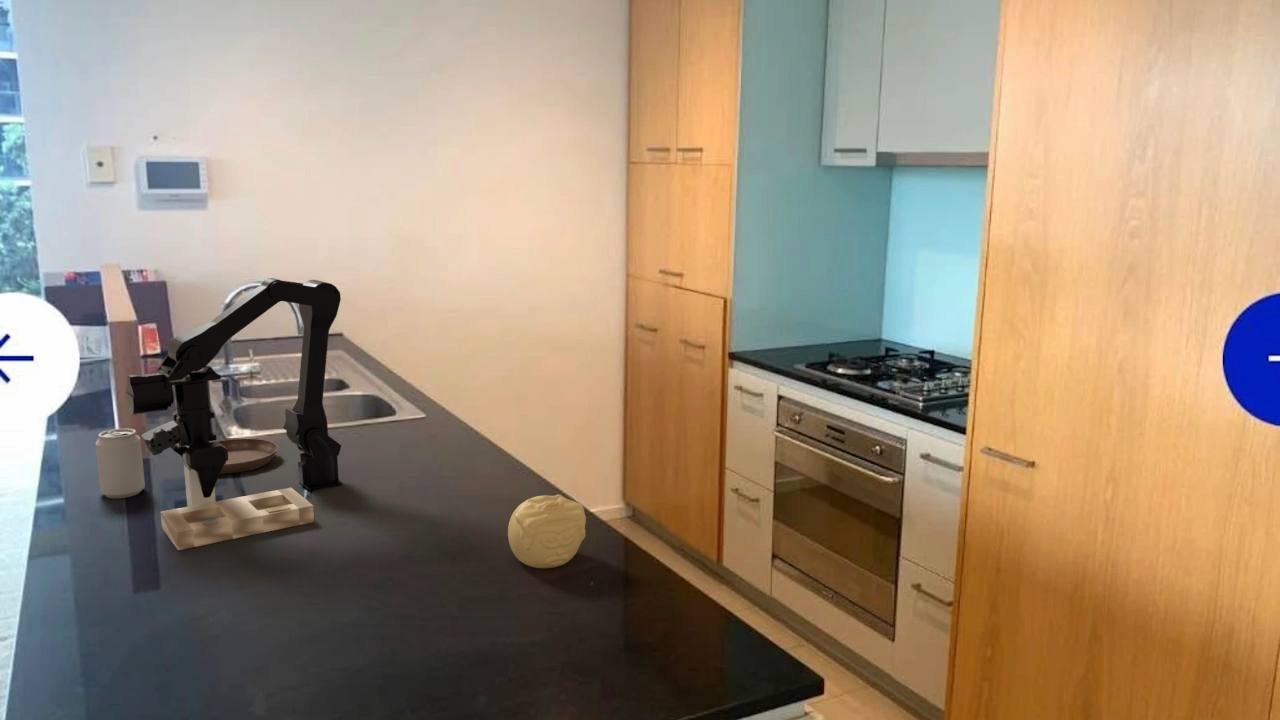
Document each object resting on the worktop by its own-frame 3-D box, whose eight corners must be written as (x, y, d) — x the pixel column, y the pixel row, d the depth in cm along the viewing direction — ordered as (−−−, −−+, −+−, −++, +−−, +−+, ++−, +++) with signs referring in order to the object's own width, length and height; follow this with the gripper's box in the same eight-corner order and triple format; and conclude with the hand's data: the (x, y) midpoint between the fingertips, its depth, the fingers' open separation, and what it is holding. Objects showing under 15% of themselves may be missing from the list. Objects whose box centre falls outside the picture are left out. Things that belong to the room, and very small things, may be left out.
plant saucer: (273, 474, 199) (272, 459, 199) (178, 480, 195) (177, 465, 194) (283, 449, 216) (282, 436, 215) (196, 454, 212) (194, 441, 211)
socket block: (292, 503, 181) (291, 486, 181) (314, 522, 172) (313, 504, 171) (162, 528, 169) (160, 510, 168) (178, 550, 159) (176, 531, 158)
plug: (210, 502, 181) (206, 450, 180) (216, 508, 178) (211, 455, 176) (187, 506, 179) (182, 453, 177) (192, 513, 176) (187, 459, 174)
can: (126, 501, 182) (120, 438, 180) (91, 498, 183) (84, 435, 181) (154, 488, 189) (148, 427, 187) (119, 485, 191) (113, 425, 188)
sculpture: (525, 581, 148) (524, 513, 146) (498, 553, 159) (497, 489, 157) (594, 567, 153) (594, 501, 151) (564, 541, 164) (563, 479, 162)
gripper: (133, 402, 178) (141, 485, 181) (155, 424, 163) (163, 514, 166) (199, 394, 184) (205, 474, 187) (225, 414, 170) (232, 501, 173)
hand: (200, 490), depth 178 cm, fingers open, 9 cm apart
